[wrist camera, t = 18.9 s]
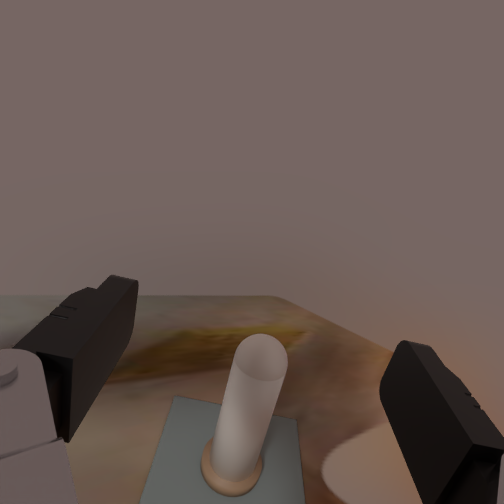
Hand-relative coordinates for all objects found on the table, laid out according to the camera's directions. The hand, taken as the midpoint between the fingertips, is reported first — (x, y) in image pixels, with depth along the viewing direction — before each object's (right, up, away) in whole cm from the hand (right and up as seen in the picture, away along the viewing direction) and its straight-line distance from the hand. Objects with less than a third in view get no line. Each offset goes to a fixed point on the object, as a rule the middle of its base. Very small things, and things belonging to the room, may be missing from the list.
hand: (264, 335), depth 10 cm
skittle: (-3, -20, +27) cm, 34 cm away
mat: (-3, -20, +28) cm, 34 cm away
